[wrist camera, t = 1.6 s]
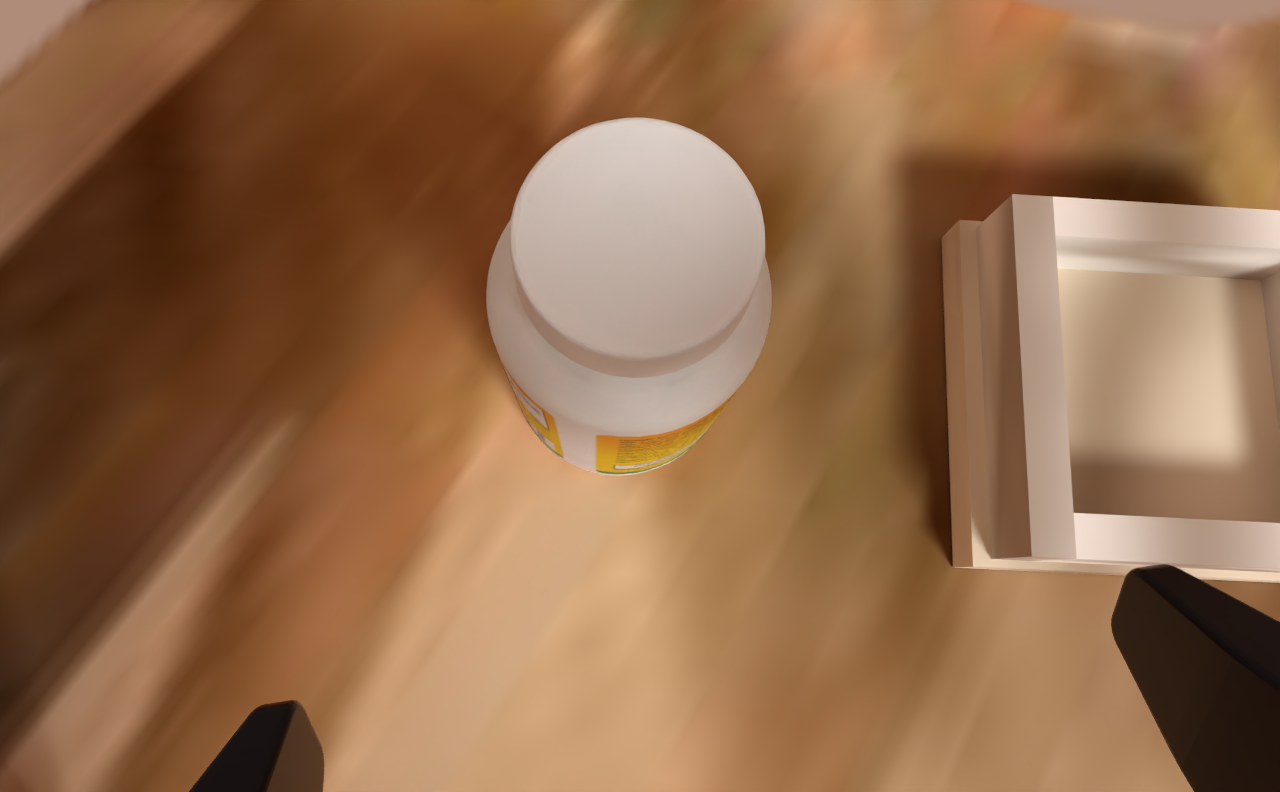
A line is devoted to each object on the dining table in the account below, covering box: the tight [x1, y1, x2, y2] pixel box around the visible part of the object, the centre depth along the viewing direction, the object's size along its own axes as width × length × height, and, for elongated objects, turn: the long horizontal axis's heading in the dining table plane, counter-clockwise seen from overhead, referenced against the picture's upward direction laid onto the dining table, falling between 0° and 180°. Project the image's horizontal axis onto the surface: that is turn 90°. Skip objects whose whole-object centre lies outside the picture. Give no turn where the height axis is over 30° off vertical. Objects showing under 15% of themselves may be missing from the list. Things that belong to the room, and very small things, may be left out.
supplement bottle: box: [486, 117, 772, 475], centre depth 18 cm, size 5×5×10 cm
